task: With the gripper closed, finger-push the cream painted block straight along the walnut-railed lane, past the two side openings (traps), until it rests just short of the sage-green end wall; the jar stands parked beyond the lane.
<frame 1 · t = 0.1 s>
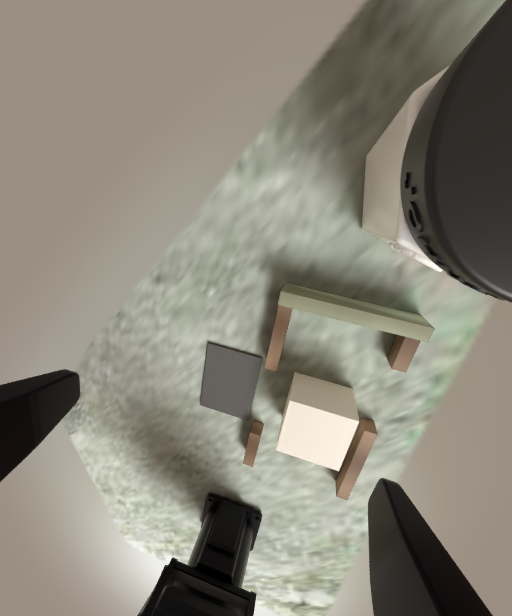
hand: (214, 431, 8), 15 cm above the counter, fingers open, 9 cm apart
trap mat: (229, 382, 25), on the counter
block: (315, 402, 24), on the counter
lane: (318, 394, 23), on the counter
jar: (429, 189, 17), on the counter
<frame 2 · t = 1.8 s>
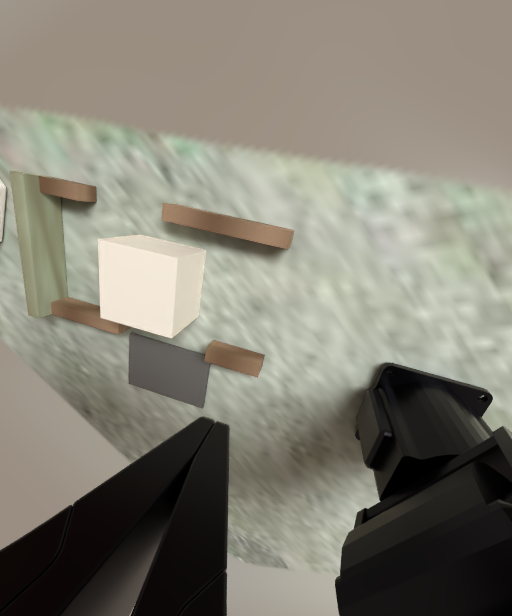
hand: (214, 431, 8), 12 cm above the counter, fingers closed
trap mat: (168, 370, 22), on the counter
block: (171, 276, 19), on the counter
lane: (157, 273, 19), on the counter
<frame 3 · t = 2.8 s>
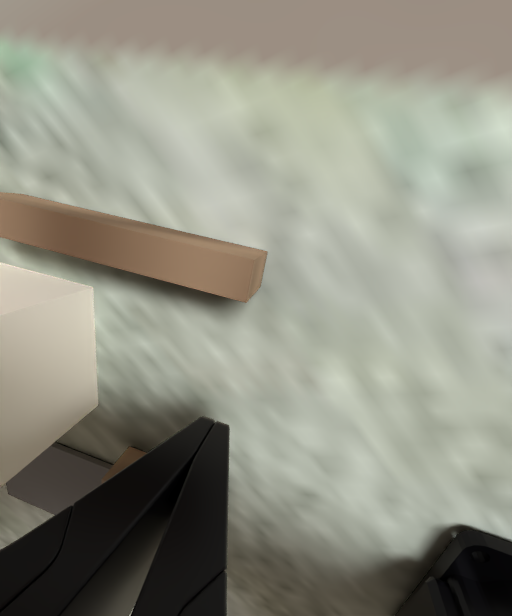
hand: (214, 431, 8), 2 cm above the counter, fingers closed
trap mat: (64, 482, 13), on the counter
block: (42, 332, 10), on the counter
lane: (16, 327, 10), on the counter
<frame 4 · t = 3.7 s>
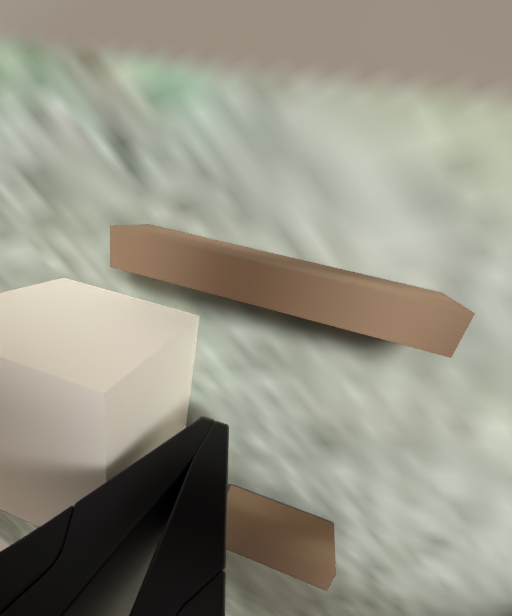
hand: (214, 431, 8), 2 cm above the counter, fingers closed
block: (128, 360, 10), on the counter, touching gripper
lane: (117, 360, 10), on the counter
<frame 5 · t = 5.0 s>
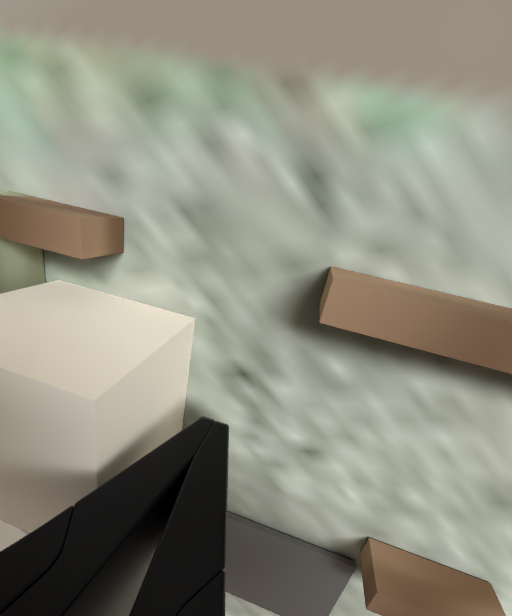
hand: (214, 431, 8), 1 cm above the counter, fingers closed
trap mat: (254, 562, 11), on the counter
block: (123, 363, 10), on the counter, touching gripper
lane: (256, 406, 9), on the counter
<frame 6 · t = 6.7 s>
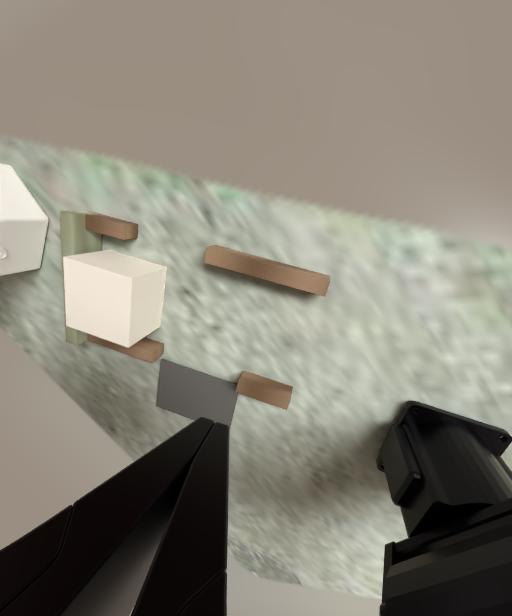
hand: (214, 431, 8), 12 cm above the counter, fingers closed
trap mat: (196, 395, 23), on the counter
block: (136, 288, 21), on the counter
lane: (192, 306, 20), on the counter
jar: (9, 220, 22), on the counter
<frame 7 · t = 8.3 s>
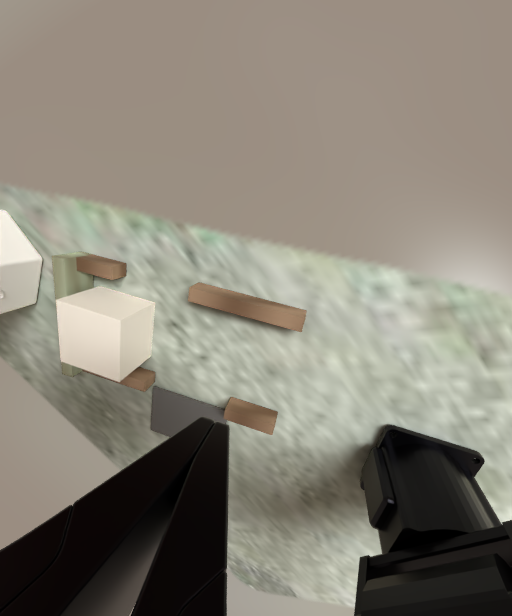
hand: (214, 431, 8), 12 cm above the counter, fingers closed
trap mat: (187, 420, 24), on the counter
block: (127, 321, 22), on the counter
lane: (180, 338, 21), on the counter
jar: (6, 259, 23), on the counter
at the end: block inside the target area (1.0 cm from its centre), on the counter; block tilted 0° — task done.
